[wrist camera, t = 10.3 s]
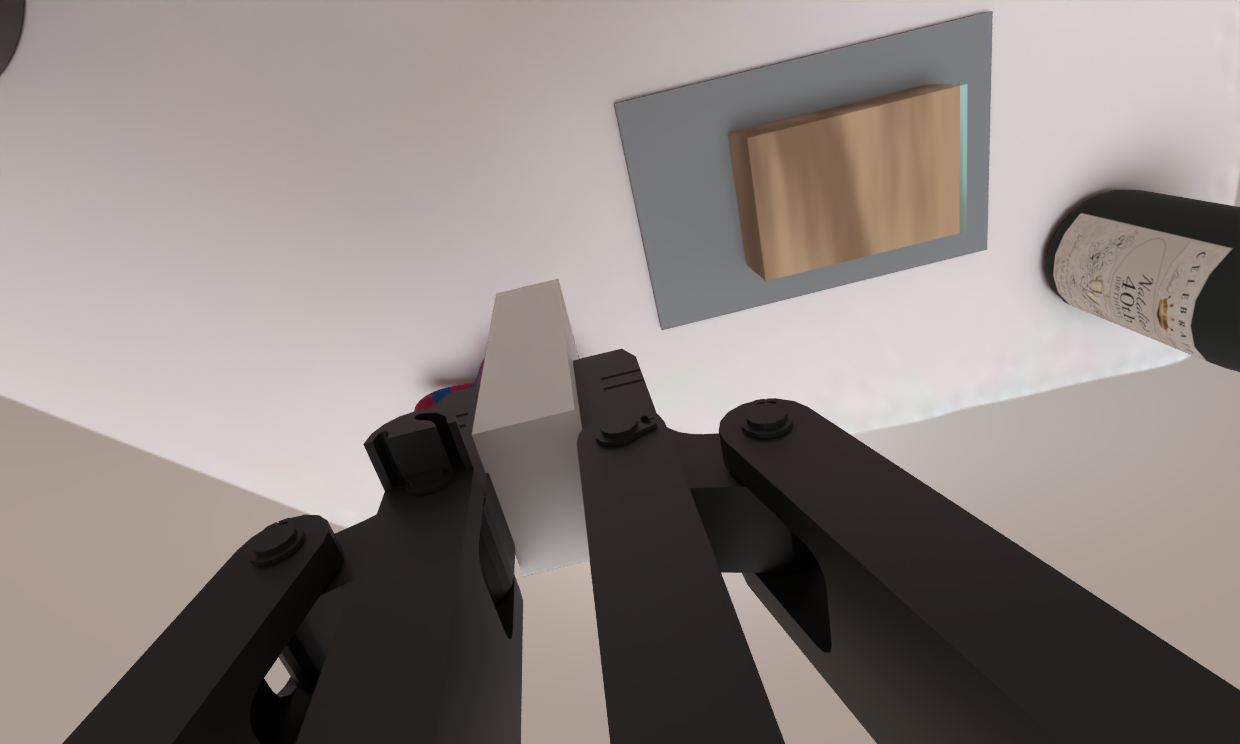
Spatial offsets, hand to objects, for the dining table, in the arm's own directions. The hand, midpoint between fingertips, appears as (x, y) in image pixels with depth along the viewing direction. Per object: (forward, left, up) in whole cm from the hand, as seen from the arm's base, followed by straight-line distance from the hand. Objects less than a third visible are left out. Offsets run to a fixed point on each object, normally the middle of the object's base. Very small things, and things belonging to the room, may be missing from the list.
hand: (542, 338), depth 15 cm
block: (+11, -3, -22) cm, 25 cm away
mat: (+16, -3, -25) cm, 30 cm away
